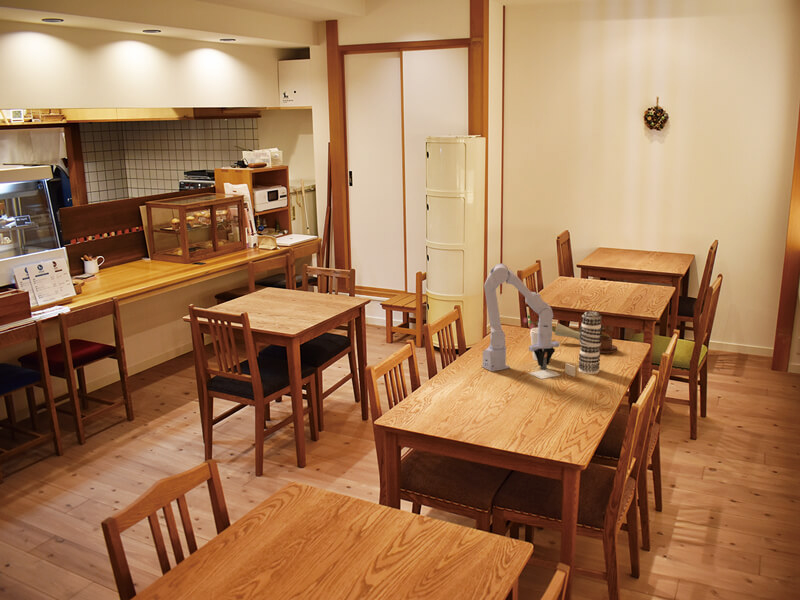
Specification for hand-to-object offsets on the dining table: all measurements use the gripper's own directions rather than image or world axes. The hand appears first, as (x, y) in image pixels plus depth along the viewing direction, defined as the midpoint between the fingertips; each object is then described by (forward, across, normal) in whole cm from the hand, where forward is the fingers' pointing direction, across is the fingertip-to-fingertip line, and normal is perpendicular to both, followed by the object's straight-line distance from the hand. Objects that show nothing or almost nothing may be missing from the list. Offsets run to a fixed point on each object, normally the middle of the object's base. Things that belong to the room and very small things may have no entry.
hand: (543, 365), depth 300 cm
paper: (+2, -4, -6) cm, 7 cm away
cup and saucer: (+2, +39, +6) cm, 40 cm away
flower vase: (+2, +30, +26) cm, 40 cm away
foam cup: (+2, +7, +11) cm, 13 cm away
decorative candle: (+2, +15, -11) cm, 19 cm away
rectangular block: (+2, +5, -11) cm, 12 cm away
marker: (+2, 0, 0) cm, 2 cm away
